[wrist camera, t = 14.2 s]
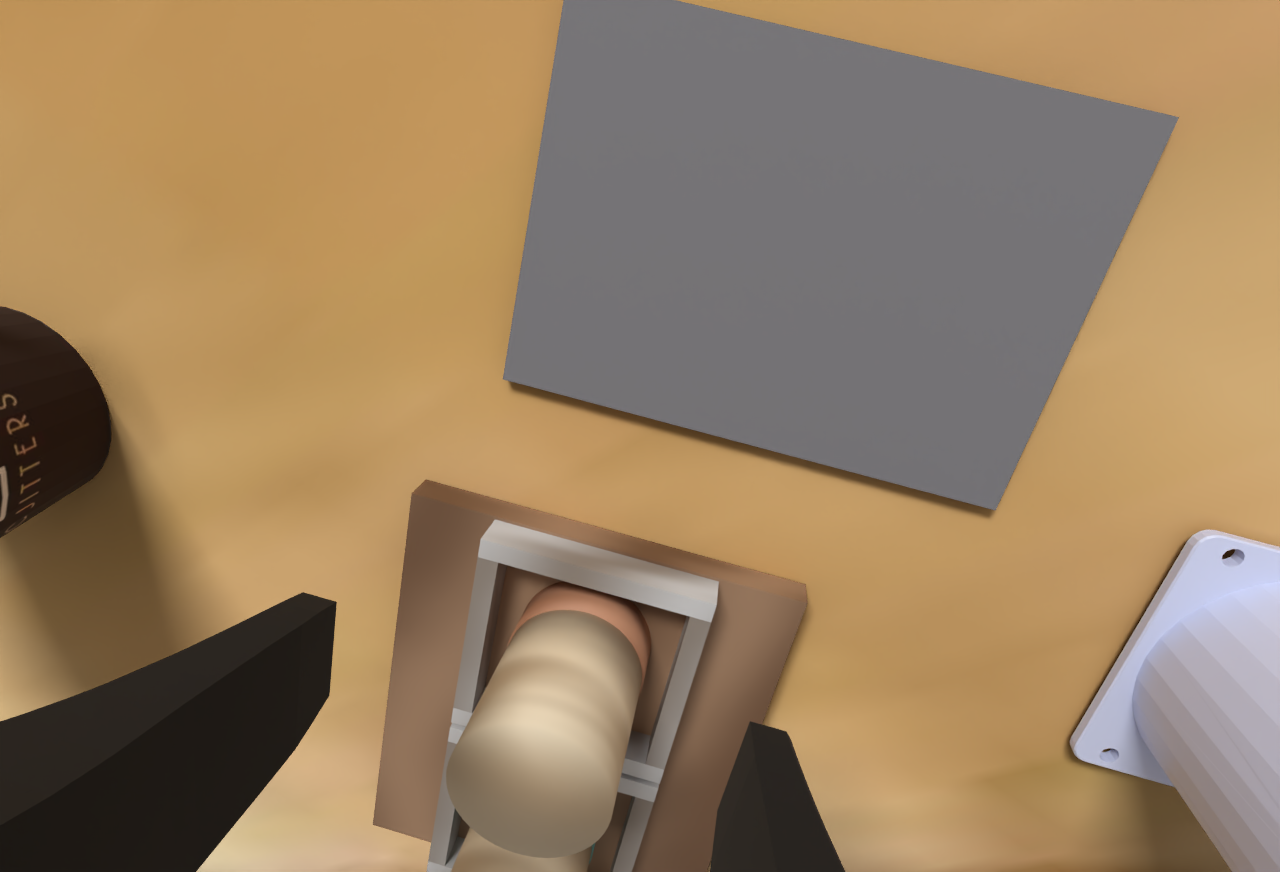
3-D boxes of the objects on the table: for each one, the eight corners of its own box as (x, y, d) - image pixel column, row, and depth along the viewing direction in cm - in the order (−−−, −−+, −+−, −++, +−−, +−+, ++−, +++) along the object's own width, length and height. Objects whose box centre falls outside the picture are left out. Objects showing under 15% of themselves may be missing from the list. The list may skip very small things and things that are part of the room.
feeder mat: (1169, 118, 16) (1178, 117, 16) (991, 504, 20) (995, 510, 20) (571, -21, 17) (567, -25, 17) (507, 375, 21) (503, 379, 20)
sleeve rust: (634, 706, 23) (595, 879, 17) (511, 670, 23) (434, 829, 18) (664, 601, 21) (632, 754, 16) (532, 564, 22) (455, 701, 16)
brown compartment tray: (805, 584, 22) (810, 628, 20) (690, 894, 27) (685, 954, 25) (426, 479, 22) (393, 511, 20) (385, 802, 28) (356, 853, 26)
